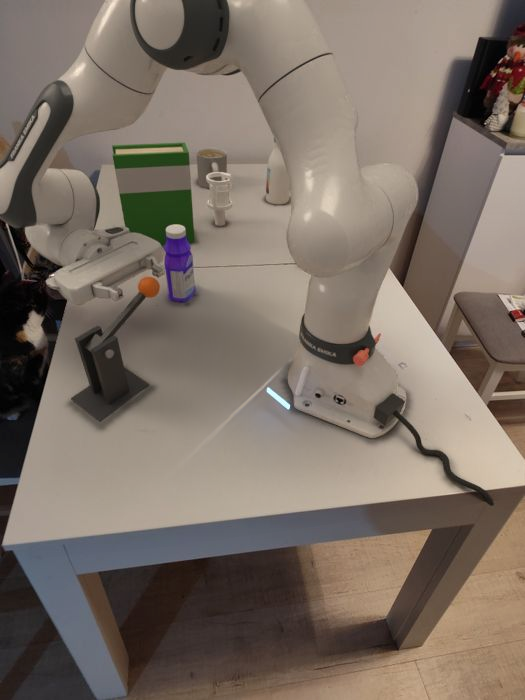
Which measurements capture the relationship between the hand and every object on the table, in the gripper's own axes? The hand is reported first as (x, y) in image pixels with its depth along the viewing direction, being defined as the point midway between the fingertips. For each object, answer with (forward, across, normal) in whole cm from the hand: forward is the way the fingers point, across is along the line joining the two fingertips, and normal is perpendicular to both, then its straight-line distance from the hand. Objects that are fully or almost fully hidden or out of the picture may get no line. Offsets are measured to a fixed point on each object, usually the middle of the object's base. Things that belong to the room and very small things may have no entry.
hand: (141, 283), depth 77 cm
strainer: (-28, +52, +17) cm, 62 cm away
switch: (+2, -5, +4) cm, 7 cm away
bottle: (-10, +18, +18) cm, 27 cm away
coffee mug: (-49, +72, +17) cm, 89 cm away
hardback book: (-34, +34, +17) cm, 51 cm away
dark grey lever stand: (+2, -12, +17) cm, 21 cm away
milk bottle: (-25, +77, +18) cm, 83 cm away
